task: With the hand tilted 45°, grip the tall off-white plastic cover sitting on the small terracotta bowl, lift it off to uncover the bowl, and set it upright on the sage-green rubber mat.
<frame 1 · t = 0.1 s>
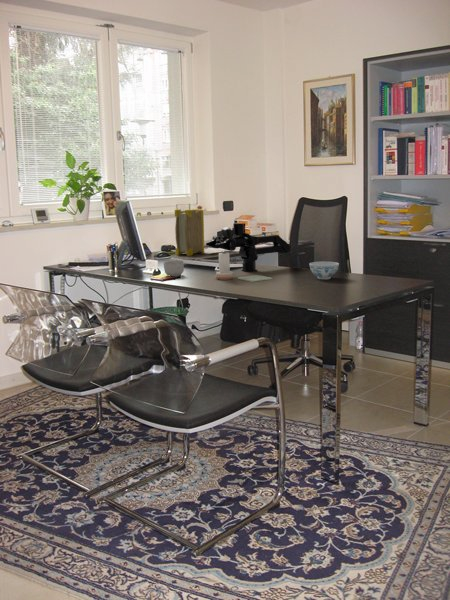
hand: (210, 244, 368), 17 cm above the table, tool horizontal, fingers open, 9 cm apart
decorative book: (190, 254, 462), on the table
cover: (224, 273, 360), point 2 cm above the table, touching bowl
teacup: (174, 275, 375), on the table
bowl: (224, 278, 360), on the table
chinaware: (323, 278, 355), on the table
mat: (254, 278, 358), on the table
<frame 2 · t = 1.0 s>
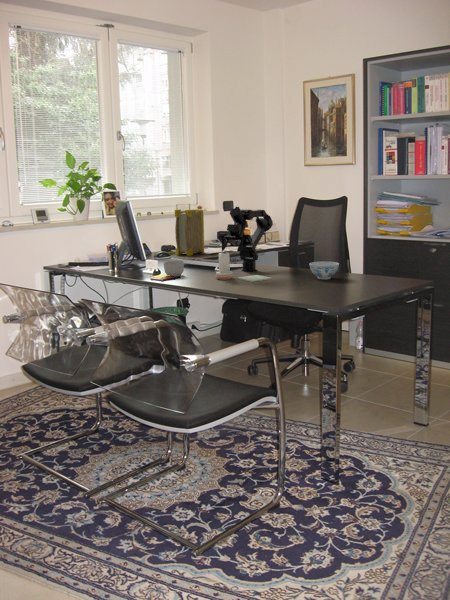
hand: (229, 251, 363), 14 cm above the table, tool tilted 45°, fingers open, 9 cm apart
nothing on the table moved.
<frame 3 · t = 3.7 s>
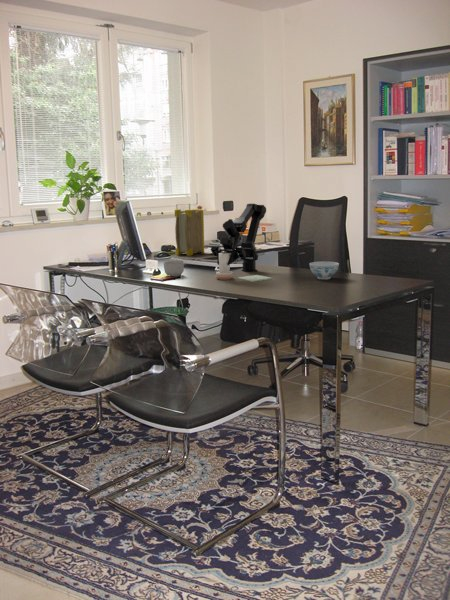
hand: (223, 264, 358), 8 cm above the table, tool tilted 45°, fingers closed on cover, 6 cm apart
cover: (224, 273, 360), point 2 cm above the table, touching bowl, gripper
everything else where it was.
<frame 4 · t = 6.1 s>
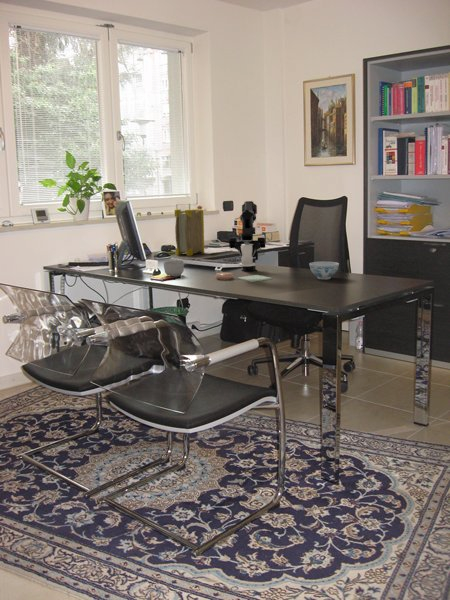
hand: (246, 255, 353), 12 cm above the table, tool tilted 45°, fingers closed on cover, 6 cm apart
cover: (247, 265, 355), point 7 cm above the table, touching gripper
everything else where it was.
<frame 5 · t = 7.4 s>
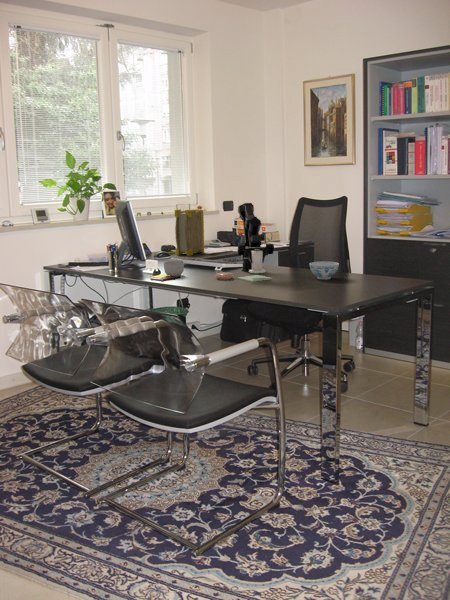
hand: (257, 262, 354), 9 cm above the table, tool tilted 45°, fingers closed on cover, 6 cm apart
cover: (257, 271, 356), point 4 cm above the table, touching gripper
everything else where it was.
when the fingers open (7 cm above the table, at t = 8.6 s): cover drops 1 cm, resting on mat.
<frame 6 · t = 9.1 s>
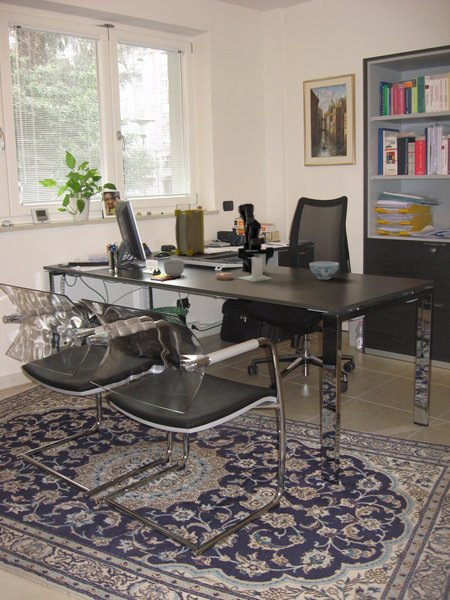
hand: (257, 265, 354), 7 cm above the table, tool tilted 45°, fingers open, 9 cm apart
cover: (257, 277, 357), point 1 cm above the table, touching mat
everything else where it was.
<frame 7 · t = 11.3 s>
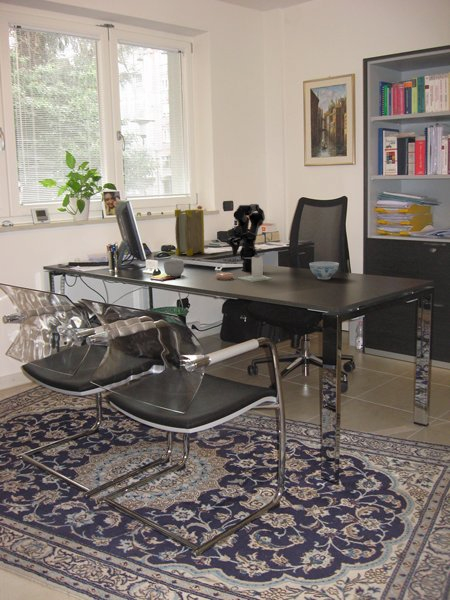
hand: (239, 254, 365), 12 cm above the table, tool tilted 30°, fingers open, 9 cm apart
nothing on the table moved.
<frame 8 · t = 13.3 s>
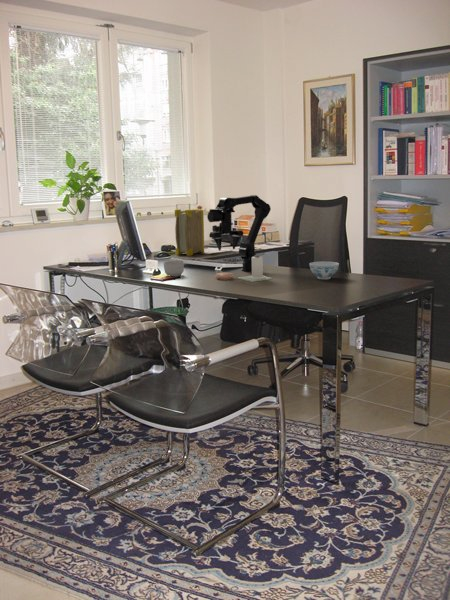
hand: (226, 249, 374), 13 cm above the table, tool pointing down, fingers open, 9 cm apart
nothing on the table moved.
at the end: cover inside the target area on the mat (1.6 cm from its centre), point 0.6 cm above the mat's base; cover tilted 0°; cover touching mat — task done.
